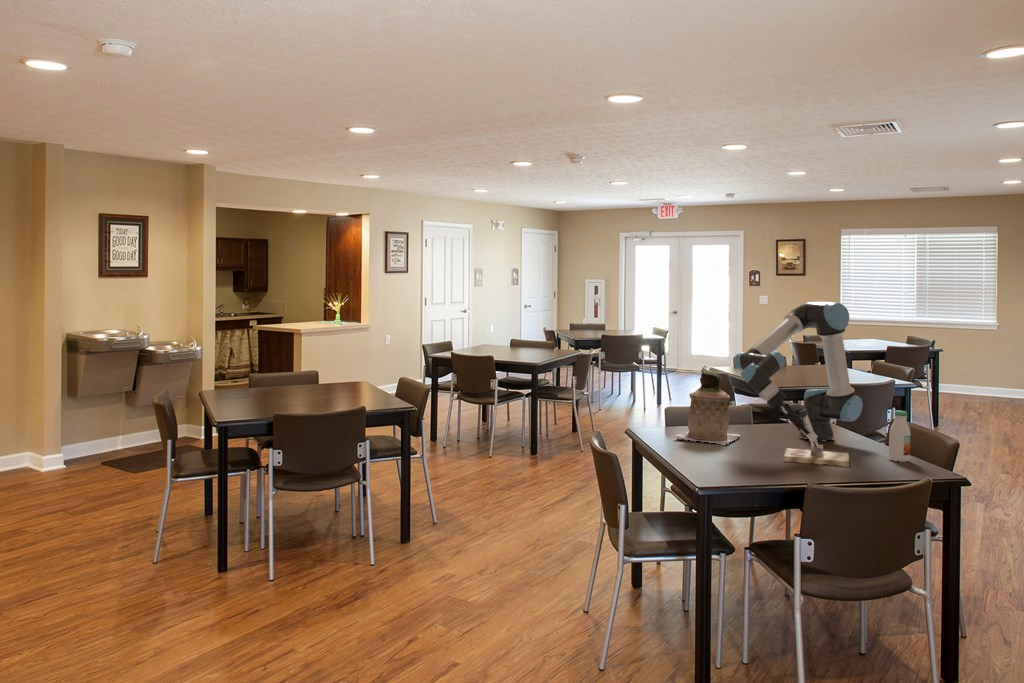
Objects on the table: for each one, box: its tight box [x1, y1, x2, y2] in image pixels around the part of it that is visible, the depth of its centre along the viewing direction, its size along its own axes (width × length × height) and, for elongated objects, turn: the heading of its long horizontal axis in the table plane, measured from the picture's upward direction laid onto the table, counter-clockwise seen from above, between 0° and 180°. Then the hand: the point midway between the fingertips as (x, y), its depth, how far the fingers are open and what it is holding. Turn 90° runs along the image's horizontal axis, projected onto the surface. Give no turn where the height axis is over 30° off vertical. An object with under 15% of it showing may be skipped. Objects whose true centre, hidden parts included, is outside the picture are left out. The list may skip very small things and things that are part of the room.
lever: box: [797, 408, 820, 447], centre depth 327 cm, size 3×3×18 cm
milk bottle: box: [887, 410, 911, 463], centre depth 327 cm, size 8×8×20 cm
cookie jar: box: [674, 369, 741, 445], centre depth 368 cm, size 25×25×32 cm
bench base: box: [783, 444, 850, 468], centre depth 327 cm, size 24×18×6 cm
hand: (814, 439), depth 327 cm, fingers closed on lever, 3 cm apart
